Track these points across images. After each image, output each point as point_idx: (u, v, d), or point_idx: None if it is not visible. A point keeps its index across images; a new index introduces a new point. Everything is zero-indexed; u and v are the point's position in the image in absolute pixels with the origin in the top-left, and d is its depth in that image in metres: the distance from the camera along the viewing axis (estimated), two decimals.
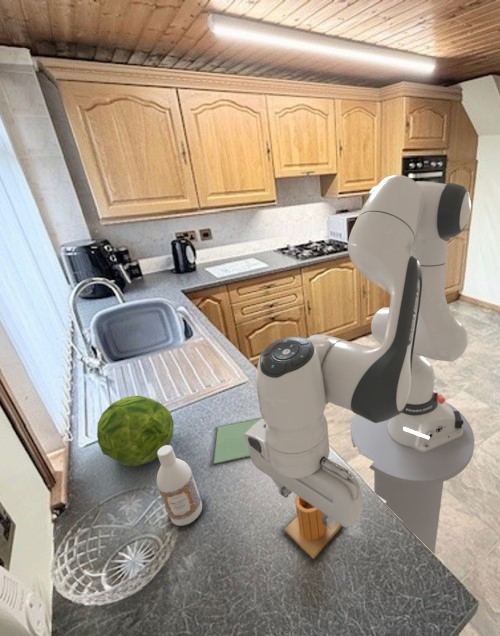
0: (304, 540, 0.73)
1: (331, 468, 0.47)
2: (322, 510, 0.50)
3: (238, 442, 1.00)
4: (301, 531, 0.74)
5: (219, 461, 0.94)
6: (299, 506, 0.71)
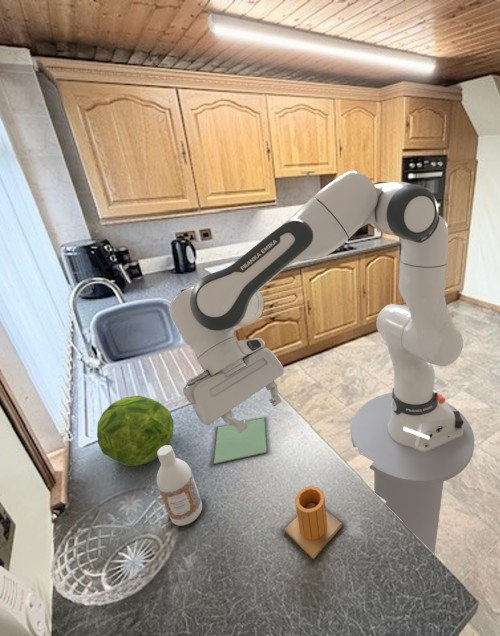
0: (304, 540, 0.73)
1: None
2: None
3: (238, 442, 1.00)
4: (301, 531, 0.74)
5: (219, 461, 0.94)
6: (299, 506, 0.71)
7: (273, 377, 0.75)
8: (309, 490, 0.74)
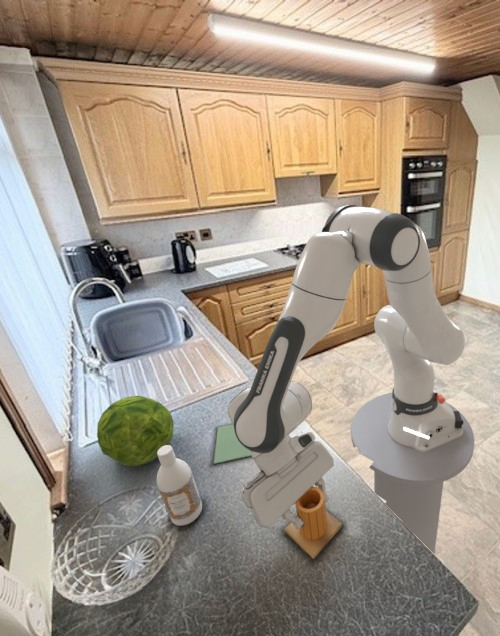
0: (304, 540, 0.73)
1: None
2: None
3: (238, 442, 1.00)
4: (301, 531, 0.74)
5: (219, 461, 0.94)
6: (299, 506, 0.71)
7: (324, 471, 0.77)
8: (309, 490, 0.74)
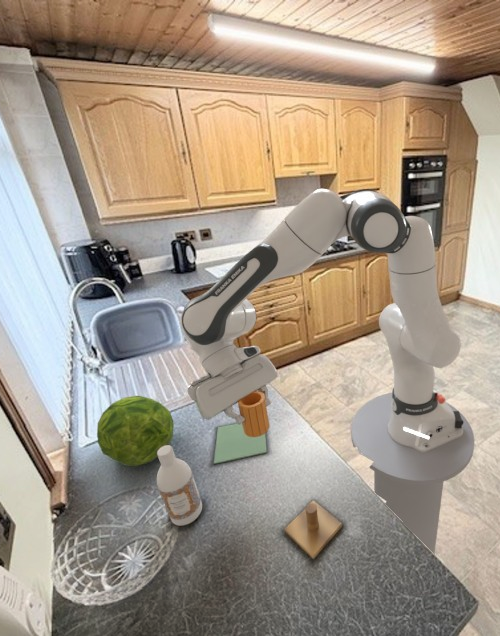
0: (304, 540, 0.73)
1: None
2: None
3: (238, 442, 1.00)
4: (244, 430, 0.82)
5: (219, 461, 0.94)
6: (240, 403, 0.79)
7: (268, 380, 0.86)
8: (252, 394, 0.83)
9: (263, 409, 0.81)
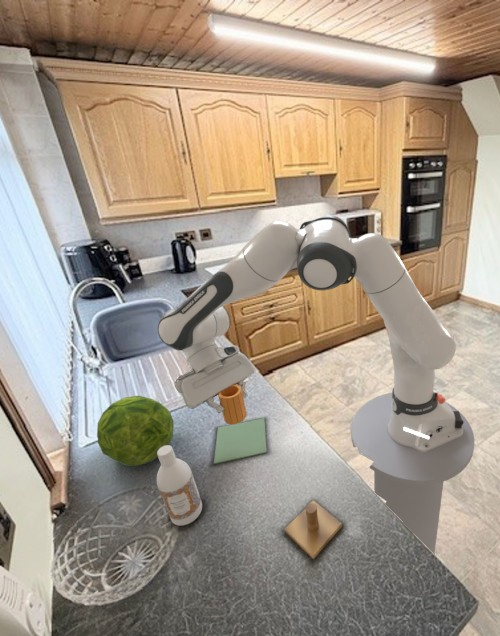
0: (304, 540, 0.73)
1: None
2: None
3: (238, 442, 1.00)
4: (224, 418, 0.95)
5: (219, 461, 0.94)
6: (220, 395, 0.92)
7: (245, 375, 0.99)
8: (231, 387, 0.96)
9: (240, 400, 0.93)
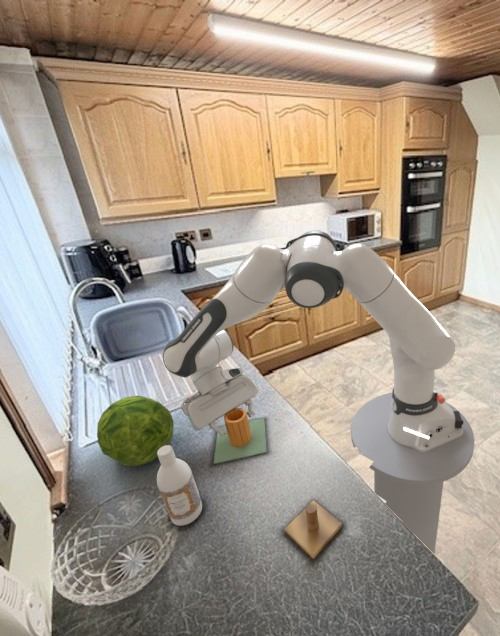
0: (304, 540, 0.73)
1: None
2: None
3: None
4: (230, 441, 0.99)
5: (219, 461, 0.94)
6: (226, 419, 0.96)
7: (249, 396, 1.02)
8: (236, 411, 0.99)
9: (245, 424, 0.97)
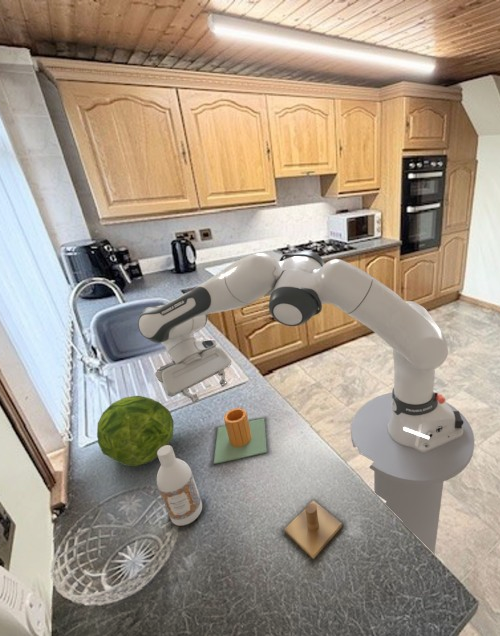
0: (304, 540, 0.73)
1: None
2: None
3: None
4: (230, 441, 0.99)
5: (219, 461, 0.94)
6: (226, 419, 0.96)
7: (222, 366, 1.07)
8: (236, 411, 0.99)
9: (245, 424, 0.97)
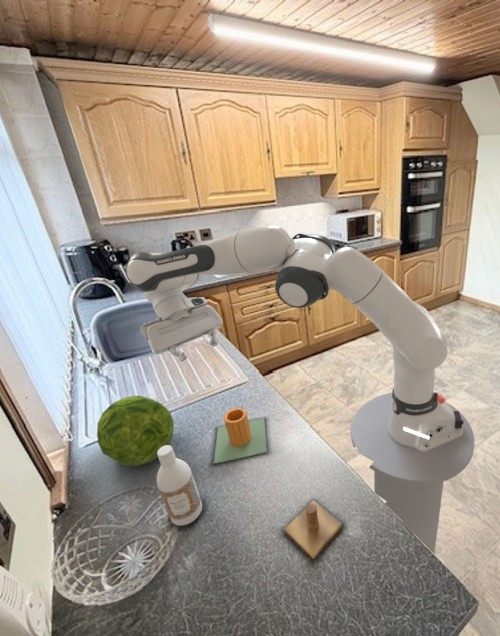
0: (304, 540, 0.73)
1: None
2: None
3: None
4: (230, 441, 0.99)
5: (219, 461, 0.94)
6: (226, 419, 0.96)
7: (212, 326, 1.01)
8: (236, 411, 0.99)
9: (245, 424, 0.97)
